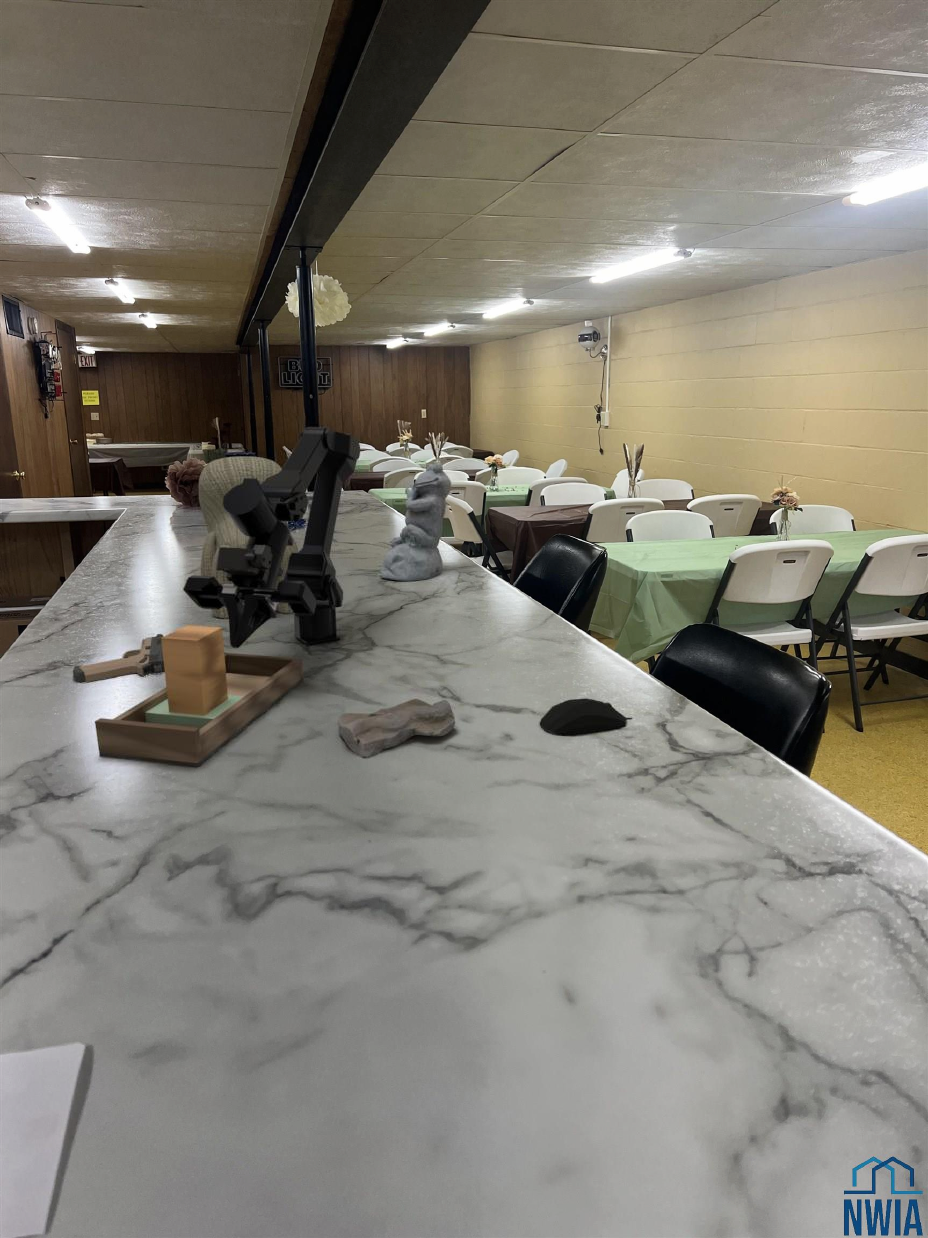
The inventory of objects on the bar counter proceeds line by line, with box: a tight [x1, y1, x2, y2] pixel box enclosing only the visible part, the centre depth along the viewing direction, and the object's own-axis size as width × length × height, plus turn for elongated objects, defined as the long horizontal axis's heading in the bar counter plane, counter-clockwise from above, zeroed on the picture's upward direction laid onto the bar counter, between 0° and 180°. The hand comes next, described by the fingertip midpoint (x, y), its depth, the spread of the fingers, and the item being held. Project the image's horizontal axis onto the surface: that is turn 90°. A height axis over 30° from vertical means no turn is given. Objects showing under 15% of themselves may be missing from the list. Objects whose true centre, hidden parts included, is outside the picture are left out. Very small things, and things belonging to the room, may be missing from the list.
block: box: [161, 624, 228, 716], centre depth 100 cm, size 6×5×10 cm
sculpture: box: [379, 461, 452, 582], centre depth 187 cm, size 18×16×30 cm
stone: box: [337, 698, 456, 759], centre depth 98 cm, size 15×10×4 cm, turn 119°
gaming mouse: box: [538, 697, 633, 737], centre depth 102 cm, size 6×15×4 cm, turn 106°
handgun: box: [72, 633, 165, 684], centre depth 127 cm, size 19×3×14 cm
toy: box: [198, 455, 299, 619], centre depth 161 cm, size 21×30×30 cm
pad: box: [145, 695, 244, 730], centre depth 102 cm, size 8×11×2 cm
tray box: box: [94, 652, 304, 768], centre depth 105 cm, size 30×13×4 cm, turn 168°
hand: (234, 646), depth 109 cm, fingers closed
